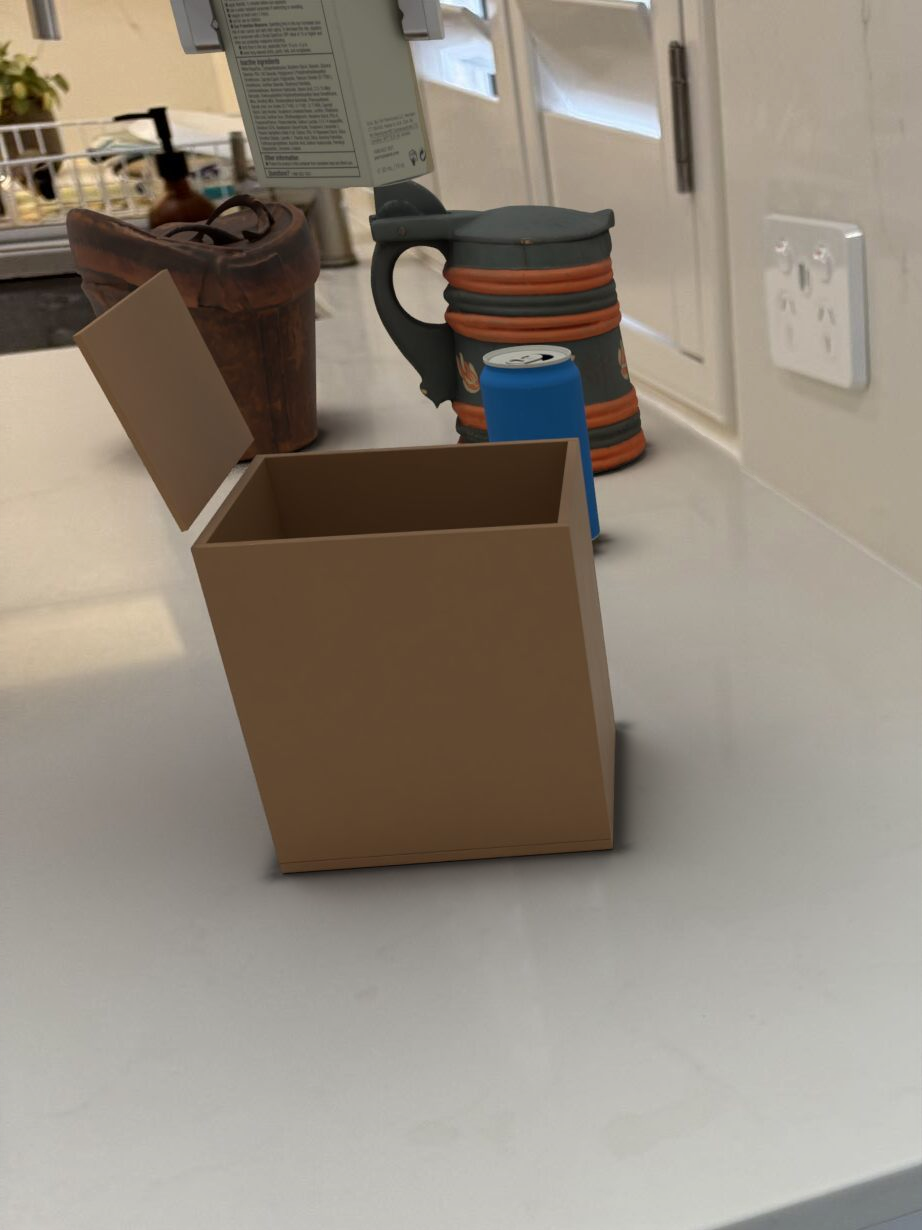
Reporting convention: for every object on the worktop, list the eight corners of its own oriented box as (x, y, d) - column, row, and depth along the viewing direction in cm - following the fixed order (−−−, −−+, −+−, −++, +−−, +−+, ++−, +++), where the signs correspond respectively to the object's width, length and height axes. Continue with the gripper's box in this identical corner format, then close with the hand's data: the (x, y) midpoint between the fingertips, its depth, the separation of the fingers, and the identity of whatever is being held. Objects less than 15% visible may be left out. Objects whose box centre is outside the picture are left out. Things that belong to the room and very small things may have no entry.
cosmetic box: (438, 176, 66) (371, -208, 58) (372, 192, 63) (291, -212, 55) (319, 174, 68) (238, -197, 60) (248, 189, 65) (154, -200, 57)
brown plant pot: (388, 413, 139) (341, 176, 128) (303, 477, 123) (241, 213, 112) (195, 413, 141) (133, 179, 130) (87, 476, 125) (5, 216, 114)
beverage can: (620, 540, 109) (598, 349, 102) (556, 567, 105) (528, 370, 97) (552, 526, 112) (525, 340, 104) (487, 551, 108) (454, 359, 100)
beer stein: (418, 498, 118) (359, 188, 106) (398, 450, 129) (342, 164, 117) (664, 469, 123) (635, 169, 111) (624, 425, 134) (594, 148, 122)
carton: (281, 873, 72) (189, 547, 63) (328, 747, 83) (255, 454, 74) (612, 849, 73) (569, 525, 64) (615, 727, 84) (578, 437, 75)
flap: (188, 530, 62) (181, 532, 62) (254, 439, 73) (248, 441, 73) (79, 333, 58) (71, 336, 58) (167, 268, 69) (160, 270, 69)
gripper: (-137, -454, 50) (24, 68, 59) (506, -476, 52) (571, 36, 61) (-71, -422, 55) (69, 56, 64) (514, -443, 57) (574, 27, 66)
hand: (318, 46), depth 62 cm, fingers closed on cosmetic box, 7 cm apart
